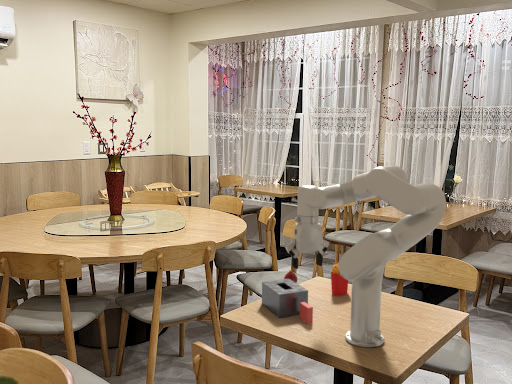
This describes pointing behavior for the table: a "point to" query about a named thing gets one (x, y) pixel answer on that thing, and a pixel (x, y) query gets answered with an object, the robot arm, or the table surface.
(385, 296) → the table surface
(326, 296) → the table surface
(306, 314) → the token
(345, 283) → the french fries
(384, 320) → the table surface
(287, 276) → the onion
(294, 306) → the grey slotted box
